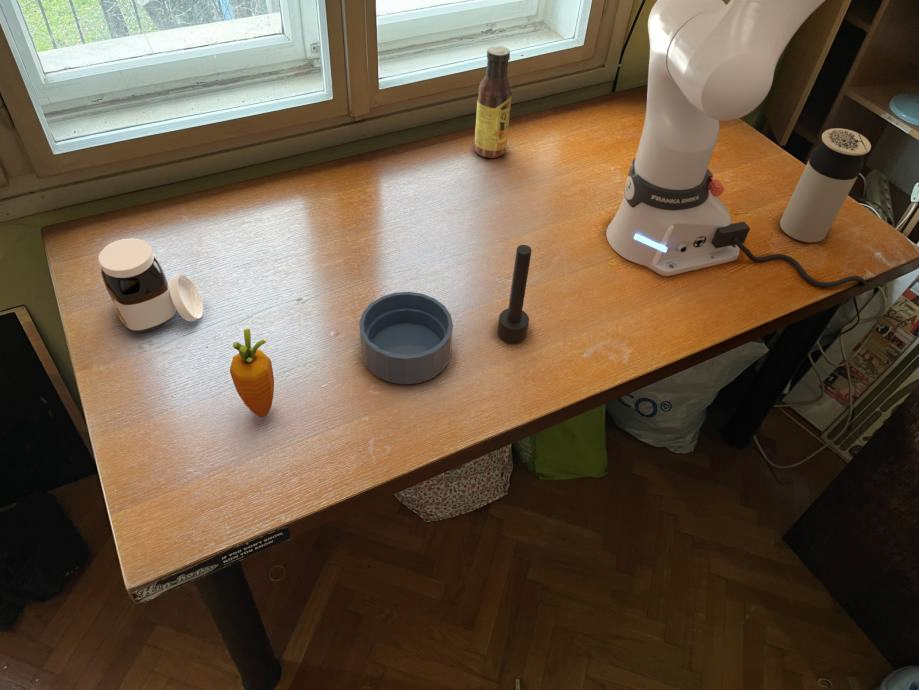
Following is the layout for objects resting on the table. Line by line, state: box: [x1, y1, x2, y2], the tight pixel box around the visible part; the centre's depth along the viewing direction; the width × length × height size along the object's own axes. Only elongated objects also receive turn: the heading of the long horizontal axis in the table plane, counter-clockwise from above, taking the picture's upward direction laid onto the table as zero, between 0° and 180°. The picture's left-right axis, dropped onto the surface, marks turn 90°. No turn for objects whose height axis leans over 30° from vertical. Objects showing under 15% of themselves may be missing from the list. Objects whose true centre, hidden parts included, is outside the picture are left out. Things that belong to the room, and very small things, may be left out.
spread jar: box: [98, 237, 204, 333], centre depth 102 cm, size 12×11×12 cm
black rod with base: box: [496, 244, 533, 345], centre depth 101 cm, size 4×4×16 cm
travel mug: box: [779, 127, 872, 243], centre depth 121 cm, size 8×8×18 cm
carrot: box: [229, 328, 275, 418], centre depth 89 cm, size 5×5×15 cm
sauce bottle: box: [474, 45, 513, 159], centre depth 133 cm, size 7×6×20 cm
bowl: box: [358, 291, 454, 385], centre depth 102 cm, size 13×13×6 cm
